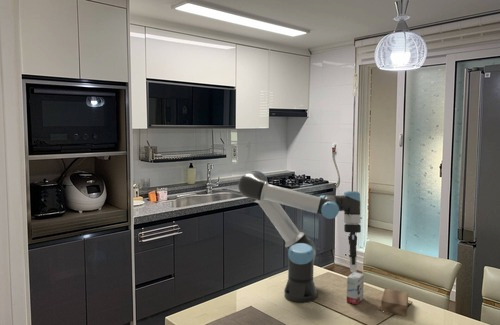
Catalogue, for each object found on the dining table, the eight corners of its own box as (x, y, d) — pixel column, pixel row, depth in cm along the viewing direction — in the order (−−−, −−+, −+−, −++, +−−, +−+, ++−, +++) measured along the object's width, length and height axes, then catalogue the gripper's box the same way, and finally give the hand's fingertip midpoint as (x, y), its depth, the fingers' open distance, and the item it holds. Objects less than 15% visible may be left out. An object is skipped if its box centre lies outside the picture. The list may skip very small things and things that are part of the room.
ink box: (356, 305, 171) (357, 279, 170) (346, 302, 174) (346, 277, 172) (363, 298, 178) (364, 273, 176) (353, 295, 180) (354, 271, 179)
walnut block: (381, 312, 165) (381, 301, 165) (384, 298, 178) (384, 288, 177) (406, 317, 161) (406, 305, 160) (407, 303, 173) (408, 292, 173)
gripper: (362, 225, 170) (362, 274, 167) (359, 223, 194) (359, 266, 192) (344, 224, 172) (345, 273, 169) (344, 222, 196) (344, 265, 193)
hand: (352, 269), depth 180 cm, fingers open, 13 cm apart
